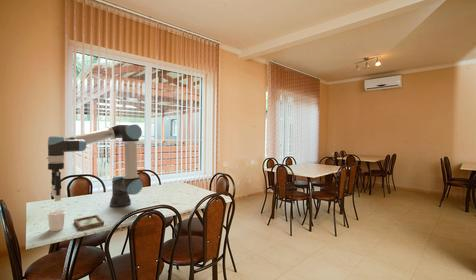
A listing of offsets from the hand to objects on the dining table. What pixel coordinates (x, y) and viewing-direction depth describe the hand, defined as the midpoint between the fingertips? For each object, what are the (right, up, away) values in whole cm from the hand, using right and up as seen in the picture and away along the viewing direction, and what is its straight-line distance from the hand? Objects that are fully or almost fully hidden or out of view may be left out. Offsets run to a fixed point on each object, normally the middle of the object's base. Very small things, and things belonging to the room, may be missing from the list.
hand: (56, 198), depth 141 cm
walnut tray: (+13, -19, +10) cm, 25 cm away
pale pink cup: (0, -19, +1) cm, 19 cm away
